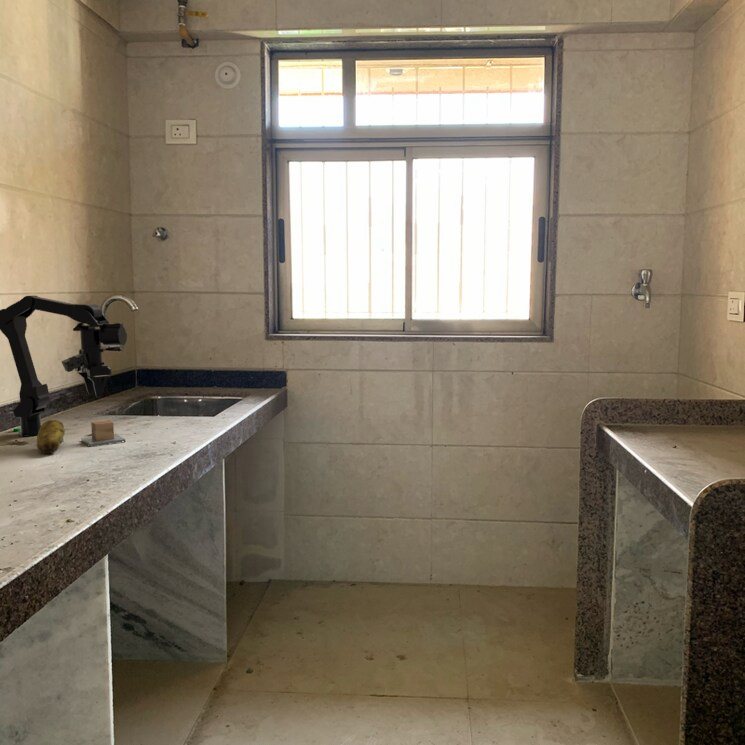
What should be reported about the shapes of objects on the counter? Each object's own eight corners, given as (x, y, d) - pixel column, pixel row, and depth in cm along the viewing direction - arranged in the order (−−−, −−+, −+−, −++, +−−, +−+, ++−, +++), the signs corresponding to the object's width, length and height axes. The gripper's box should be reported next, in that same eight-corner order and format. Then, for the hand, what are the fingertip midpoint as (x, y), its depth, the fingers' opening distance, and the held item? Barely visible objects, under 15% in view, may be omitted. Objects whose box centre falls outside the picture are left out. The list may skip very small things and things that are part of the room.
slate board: (81, 440, 212) (81, 438, 212) (115, 436, 218) (115, 433, 218) (90, 446, 204) (89, 444, 204) (125, 441, 210) (125, 439, 210)
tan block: (92, 438, 212) (91, 421, 211) (109, 436, 215) (108, 419, 214) (96, 441, 208) (95, 424, 207) (114, 438, 211) (113, 422, 210)
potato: (25, 456, 194) (23, 427, 193) (46, 445, 207) (44, 418, 206) (55, 455, 194) (53, 426, 193) (75, 445, 207) (73, 417, 206)
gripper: (56, 345, 220) (59, 395, 222) (70, 349, 205) (74, 403, 207) (93, 343, 227) (96, 391, 229) (110, 347, 211) (113, 399, 213)
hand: (94, 396), depth 219 cm, fingers open, 9 cm apart
